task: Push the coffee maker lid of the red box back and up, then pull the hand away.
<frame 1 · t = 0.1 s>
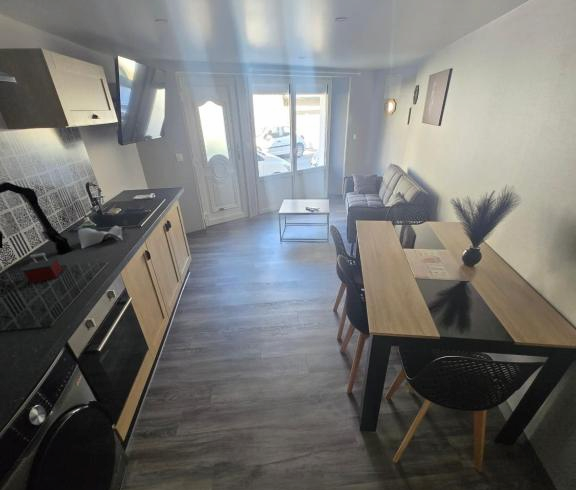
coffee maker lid: (37, 260, 156), point 9 cm above the table, hinge at 0.0°
sculpture: (105, 241, 200), on the table
red box: (46, 275, 161), on the table
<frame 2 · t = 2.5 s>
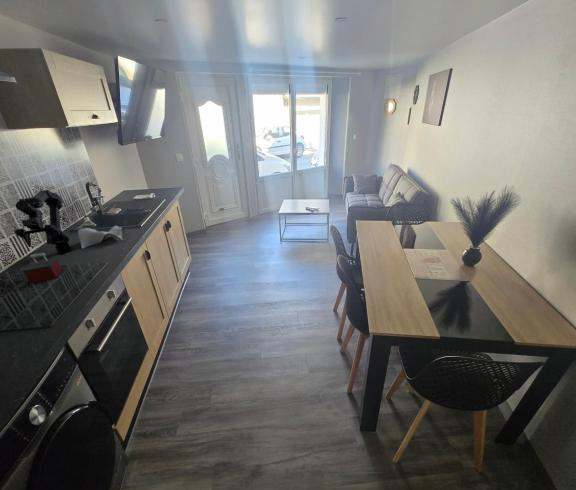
hand: (39, 245, 162), 13 cm above the table, tool tilted 45°, fingers open, 9 cm apart
nothing on the table moved.
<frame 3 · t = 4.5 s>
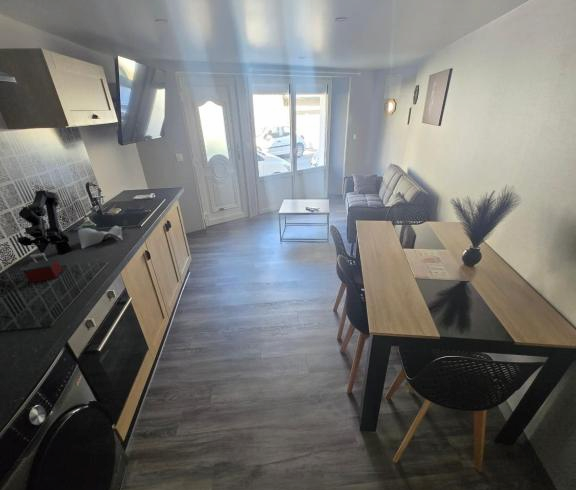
hand: (41, 252, 161), 10 cm above the table, tool tilted 45°, fingers closed
nothing on the table moved.
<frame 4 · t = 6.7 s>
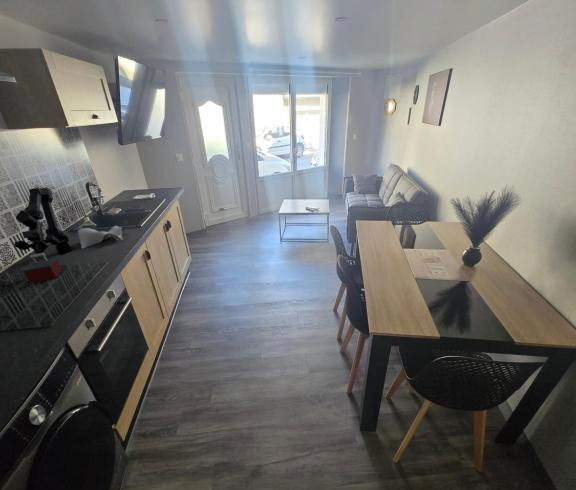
hand: (39, 257, 158), 10 cm above the table, tool tilted 45°, fingers closed, pressing on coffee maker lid
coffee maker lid: (37, 260, 156), point 9 cm above the table, hinge at 0.3°, touching gripper
everything else where it was.
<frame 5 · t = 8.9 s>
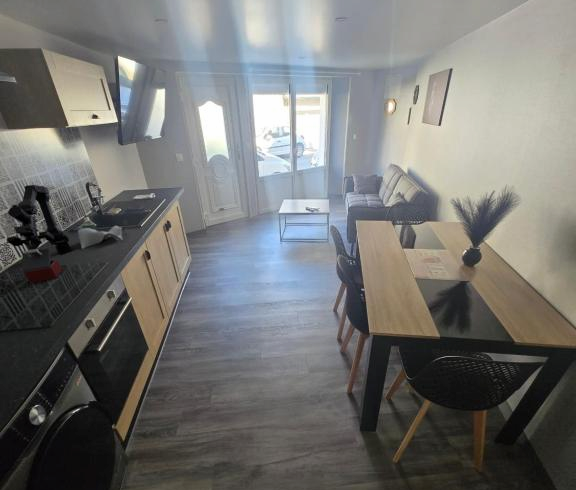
hand: (33, 253, 153), 13 cm above the table, tool tilted 45°, fingers closed, pressing on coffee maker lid
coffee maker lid: (33, 257, 152), point 12 cm above the table, hinge at 35.0°, touching gripper
everything else where it was.
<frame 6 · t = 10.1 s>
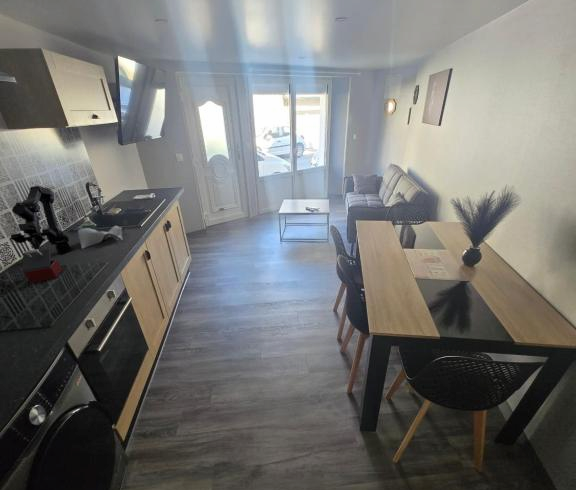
hand: (36, 250, 157), 13 cm above the table, tool tilted 45°, fingers closed
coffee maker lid: (33, 257, 153), point 12 cm above the table, hinge at 32.1°
everything else where it was.
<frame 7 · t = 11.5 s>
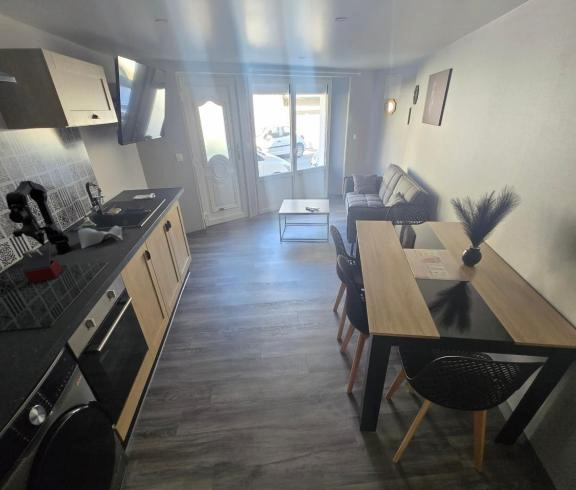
hand: (43, 245, 165), 13 cm above the table, tool pointing down, fingers closed
nothing on the table moved.
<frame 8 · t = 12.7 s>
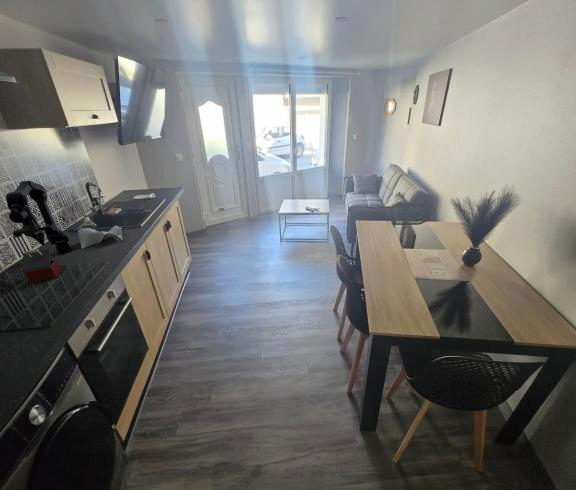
hand: (43, 245, 165), 12 cm above the table, tool pointing down, fingers closed
nothing on the table moved.
at the end: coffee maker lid at +32° (first picture: +0°); the gripper is holding nothing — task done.
